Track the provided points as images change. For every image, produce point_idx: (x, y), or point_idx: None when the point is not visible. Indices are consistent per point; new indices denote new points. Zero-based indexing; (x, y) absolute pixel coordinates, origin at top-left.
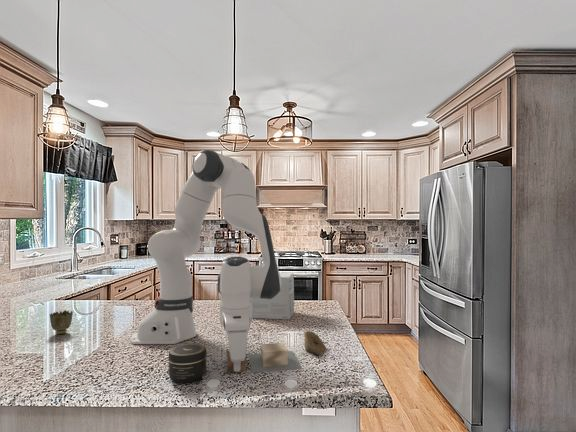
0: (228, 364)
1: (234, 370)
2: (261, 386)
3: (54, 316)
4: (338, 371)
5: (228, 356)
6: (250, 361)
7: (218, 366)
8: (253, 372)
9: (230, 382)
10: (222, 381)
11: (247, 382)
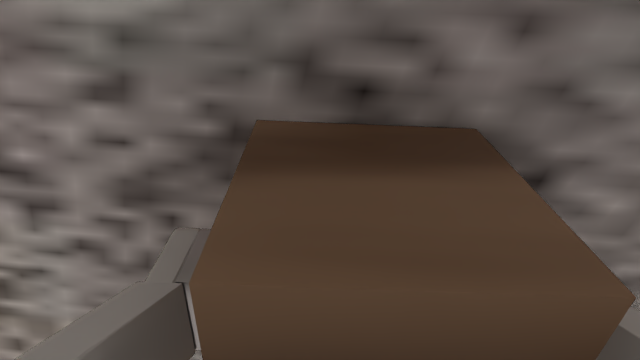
0: (224, 208)
1: (175, 236)
2: (29, 345)
3: None
4: None
5: (266, 305)
6: None
7: (629, 19)
8: None
9: (87, 139)
10: (111, 50)
11: (96, 275)
